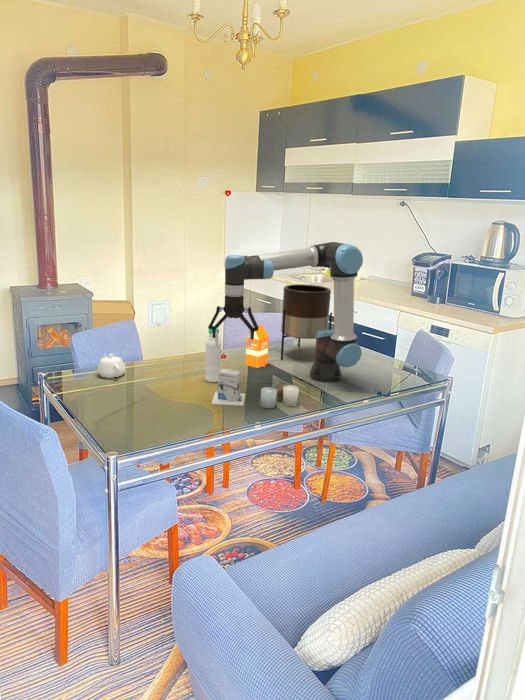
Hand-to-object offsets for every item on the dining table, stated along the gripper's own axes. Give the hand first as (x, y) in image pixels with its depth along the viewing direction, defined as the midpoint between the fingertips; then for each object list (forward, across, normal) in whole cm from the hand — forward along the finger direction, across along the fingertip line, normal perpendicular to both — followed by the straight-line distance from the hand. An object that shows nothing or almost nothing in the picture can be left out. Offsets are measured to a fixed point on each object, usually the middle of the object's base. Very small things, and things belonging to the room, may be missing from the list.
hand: (233, 346), depth 209 cm
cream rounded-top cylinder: (+23, -24, +2) cm, 34 cm away
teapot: (+23, +58, -22) cm, 66 cm away
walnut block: (+23, -20, -2) cm, 31 cm away
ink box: (+22, +1, +1) cm, 22 cm away
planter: (+24, -33, -67) cm, 78 cm away
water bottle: (+23, +11, -21) cm, 33 cm away
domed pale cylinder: (+23, -15, +6) cm, 28 cm away
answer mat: (+23, +1, +1) cm, 23 cm away
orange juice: (+23, -9, -48) cm, 54 cm away
